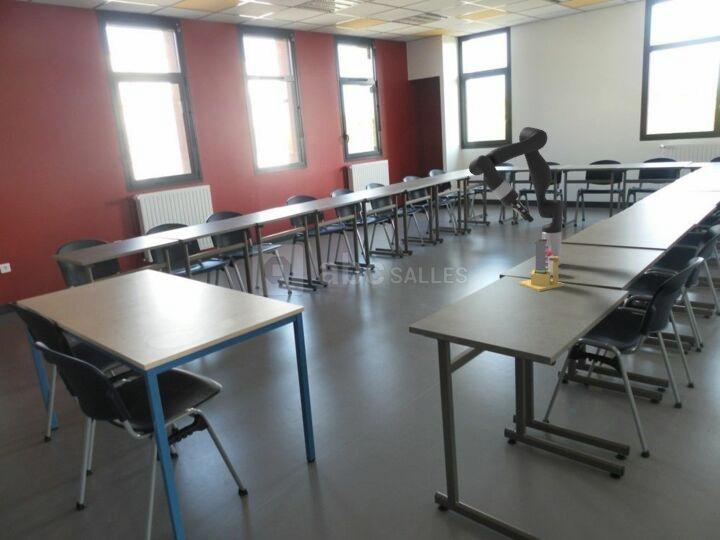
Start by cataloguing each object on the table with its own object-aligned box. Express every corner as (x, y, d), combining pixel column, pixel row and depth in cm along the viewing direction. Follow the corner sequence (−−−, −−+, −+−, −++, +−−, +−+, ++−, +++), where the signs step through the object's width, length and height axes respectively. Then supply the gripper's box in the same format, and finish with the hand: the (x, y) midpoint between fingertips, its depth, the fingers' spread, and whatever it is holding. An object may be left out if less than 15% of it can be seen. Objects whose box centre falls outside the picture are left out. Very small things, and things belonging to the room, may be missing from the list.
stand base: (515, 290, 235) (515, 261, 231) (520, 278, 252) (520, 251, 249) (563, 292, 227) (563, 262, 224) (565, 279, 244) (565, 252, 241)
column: (534, 283, 238) (534, 241, 233) (535, 280, 242) (535, 239, 238) (547, 283, 236) (547, 241, 231) (548, 280, 240) (548, 239, 235)
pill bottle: (533, 273, 259) (533, 251, 256) (547, 271, 261) (547, 249, 258) (543, 276, 251) (543, 254, 249) (557, 274, 254) (557, 252, 251)
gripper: (514, 188, 224) (540, 215, 225) (508, 186, 237) (533, 212, 239) (501, 200, 225) (526, 228, 226) (496, 198, 239) (520, 224, 240)
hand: (529, 220), depth 233 cm, fingers open, 8 cm apart
